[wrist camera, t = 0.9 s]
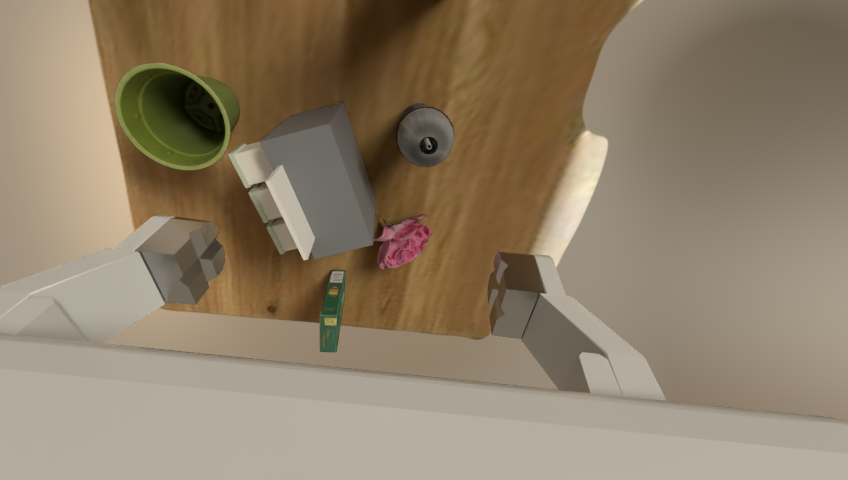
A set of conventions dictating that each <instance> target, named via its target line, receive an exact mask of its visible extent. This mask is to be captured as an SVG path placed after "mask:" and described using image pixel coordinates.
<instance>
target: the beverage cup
mask: <svg viewBox="0 0 848 480" xmlns="http://www.w3.org/2000/svg"><path fill="white" fill-rule="evenodd" d="M396 142H397V146H398V149H399V151H400V152H401V154H402V155H403V157H405V158H406V159H407V160H408V161H409V162H411V163H412V164H414V165H417V166H419V167H431V166H435V165H437V164H439V163H441V162H442V161H444V160H445V159H446V157H447V156H448V155H449V154H450V152H451V149H452V147H453V142H454V129H453V125H452V123H451V121H450V119H449V118H448V117H447V116H446V115H445V114H444V113H443V112H442V111H440V110H438V109H436V108H433V107H429V106H427V105H424V104H420V103H416V104H412V105H411V106H409V107H408V108H407V109H406V111H405V113H404V115H403V118H402V120H401V121H400V123H399V125H398V128H397V132H396Z"/></svg>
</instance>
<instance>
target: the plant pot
mask: <svg viewBox="0 0 848 480" xmlns="http://www.w3.org/2000/svg"><path fill="white" fill-rule="evenodd" d="M194 88H195V89H196V90H197V92H196V93H195V95H194V99H193V98H191V97H190V95H191V92H192V90H193V89H194ZM209 103H212V104H214V108H210V107H209ZM115 110H116V114H117V117H118V120H119V122H120V125H121V127H122V129H123V131H124V132H125V134H126V135H127V137H128V138H129V139H130V141H131V142H132V143H133V144H134V145H135V146H136V147H137V148H138V149H139V150H140V151H141V152H142V153H144V154H145V155H146V156H148V157H149V158H151V159H152V160H154V161H156V162H158V163H160V164H162V165H165V166H167V167H170V168H174V169H179V170H198V169H203V168H206V167H208V166H211V165H212V164H214V163H215V162H217V161H218V160H219V159H220V158H221V157H222V156H223V154H224V153H225V151H226V149H227V147H228V144H229V140H230V132H231V130H232V129H233V127H234V126H235V124H236V123H237V121H238V119H239V115H240V108H239V104H238V101H237V99H236V97H235V95H234V93H233V92H232V91H231V90H230V89H229V88H228V87H227V86H226V85H225V84H223V83H222V82H220V81H218V80H215V79H212V78H207V77H201V76H196V75H194V74H192V73H190V72H188V71H186V70H184V69H182V68H179V67H177V66H173V65H169V64H163V63H149V64H144V65H140V66H137V67H135V68H134V69H132V70H130V71H129V72H128V73H126V74H125V75H124V77H123V78H122V79H121V81H120V82H119V84H118V87H117V90H116V93H115ZM199 116H200V117H202V118H203V119H205V120H206V121H207V122H209V125H208V124H206V123H204V122H203V121H201V120H200V119H199Z"/></svg>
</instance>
